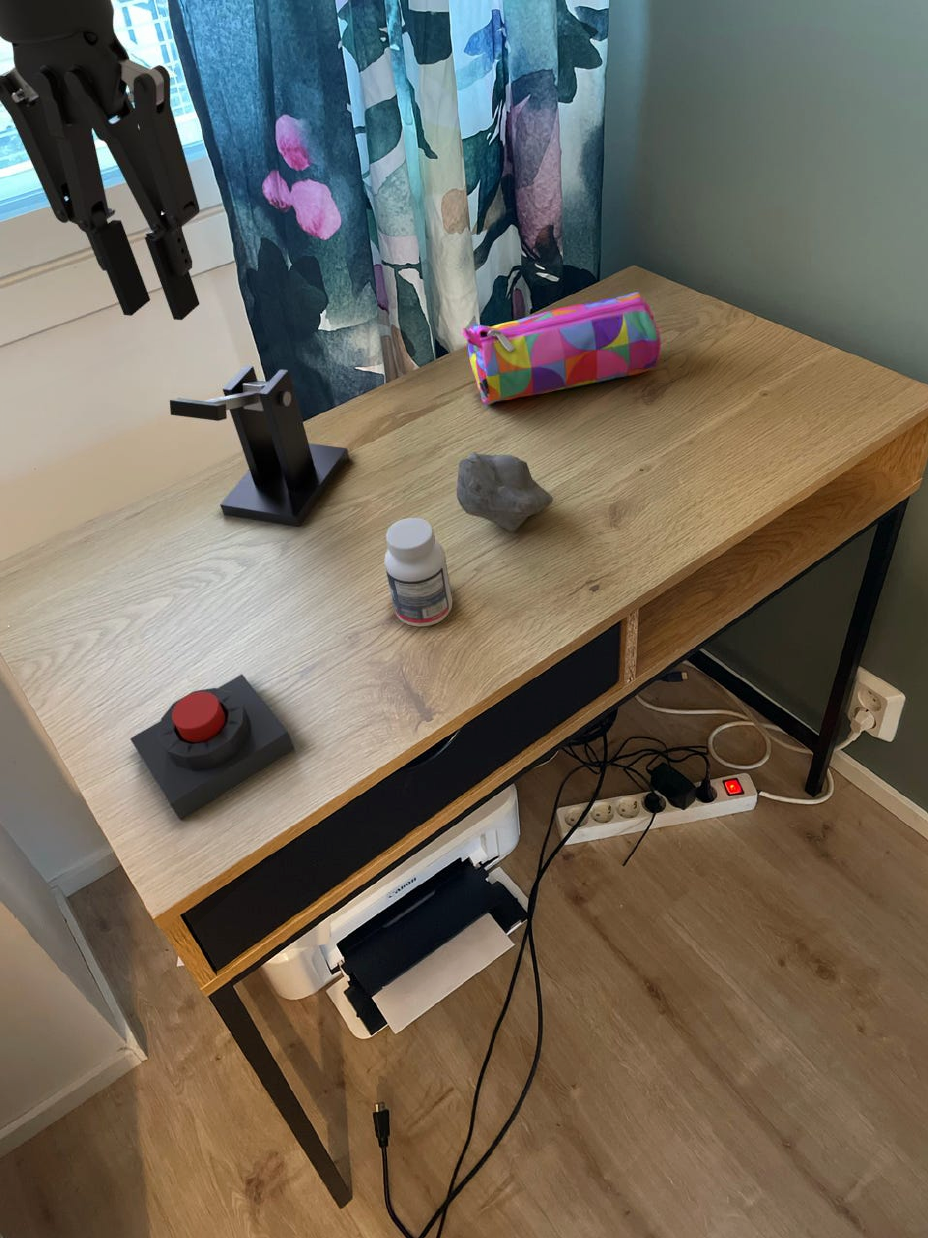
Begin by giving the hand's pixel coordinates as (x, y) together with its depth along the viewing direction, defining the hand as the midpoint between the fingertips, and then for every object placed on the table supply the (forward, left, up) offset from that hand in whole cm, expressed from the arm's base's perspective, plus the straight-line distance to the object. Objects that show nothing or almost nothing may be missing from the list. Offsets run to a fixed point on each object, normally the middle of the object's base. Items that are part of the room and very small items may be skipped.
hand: (161, 308), depth 72 cm
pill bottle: (+21, -6, -25) cm, 33 cm away
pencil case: (+25, +32, -25) cm, 48 cm away
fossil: (+25, +7, -25) cm, 36 cm away
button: (+10, -24, -21) cm, 34 cm away
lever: (0, +4, -13) cm, 14 cm away
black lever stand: (+1, +9, -25) cm, 26 cm away
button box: (+10, -24, -25) cm, 36 cm away
